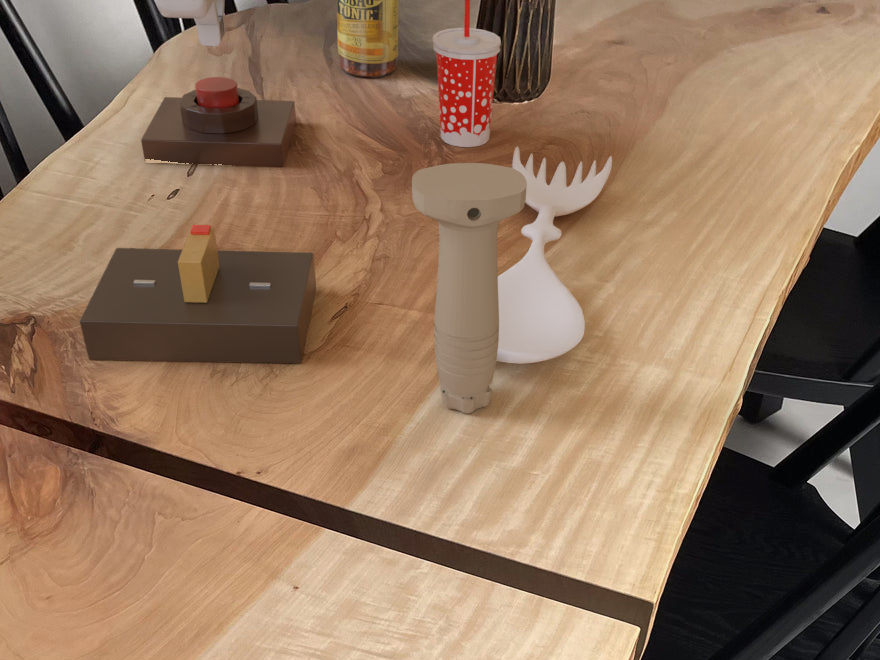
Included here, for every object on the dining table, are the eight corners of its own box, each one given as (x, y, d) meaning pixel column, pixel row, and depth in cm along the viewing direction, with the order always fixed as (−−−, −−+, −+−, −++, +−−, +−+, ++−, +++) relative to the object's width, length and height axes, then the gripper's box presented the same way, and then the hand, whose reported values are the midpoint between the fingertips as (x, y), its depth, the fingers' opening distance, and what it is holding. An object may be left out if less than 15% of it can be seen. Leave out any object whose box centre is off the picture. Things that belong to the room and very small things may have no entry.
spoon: (612, 189, 97) (616, 151, 94) (574, 393, 72) (579, 349, 70) (511, 178, 97) (512, 140, 95) (440, 377, 73) (440, 332, 71)
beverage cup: (488, 122, 107) (493, -33, 97) (504, 148, 102) (511, -13, 93) (426, 126, 105) (425, -32, 96) (440, 152, 101) (440, -11, 92)
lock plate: (88, 360, 73) (78, 318, 71) (123, 284, 81) (115, 245, 78) (301, 363, 74) (297, 323, 72) (316, 289, 81) (313, 250, 79)
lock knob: (207, 302, 73) (200, 258, 71) (184, 302, 73) (176, 258, 71) (219, 266, 77) (213, 223, 75) (198, 265, 77) (191, 223, 75)
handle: (412, 382, 73) (408, 164, 63) (509, 378, 74) (519, 162, 64) (418, 425, 69) (415, 201, 59) (519, 420, 70) (532, 198, 60)
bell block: (145, 164, 96) (136, 119, 94) (168, 120, 104) (161, 77, 101) (283, 168, 97) (279, 123, 94) (296, 124, 104) (292, 81, 102)
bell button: (194, 110, 96) (191, 90, 95) (201, 95, 99) (199, 76, 98) (236, 112, 97) (233, 92, 96) (242, 96, 99) (240, 77, 98)
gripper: (173, -171, 93) (198, 2, 102) (114, -116, 78) (150, 82, 87) (248, -168, 93) (267, 4, 102) (205, -114, 78) (231, 84, 87)
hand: (213, 40), depth 94 cm, fingers closed
